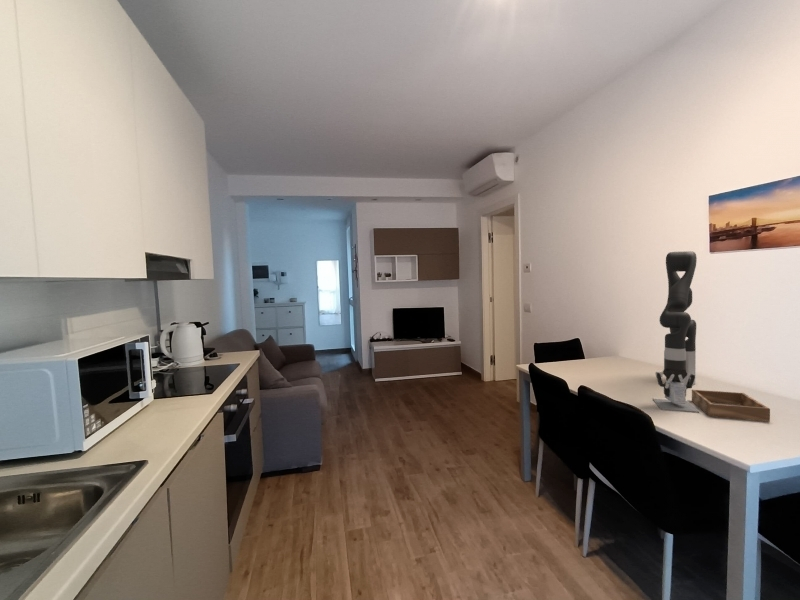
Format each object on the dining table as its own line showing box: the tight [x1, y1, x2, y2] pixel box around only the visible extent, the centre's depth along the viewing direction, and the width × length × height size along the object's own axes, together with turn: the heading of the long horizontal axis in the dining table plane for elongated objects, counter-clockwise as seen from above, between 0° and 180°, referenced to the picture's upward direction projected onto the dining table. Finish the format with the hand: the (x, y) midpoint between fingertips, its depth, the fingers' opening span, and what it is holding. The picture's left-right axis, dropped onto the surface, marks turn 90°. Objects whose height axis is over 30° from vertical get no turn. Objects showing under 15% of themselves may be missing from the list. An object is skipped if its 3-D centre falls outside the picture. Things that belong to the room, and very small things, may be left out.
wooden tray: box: [691, 389, 771, 423], centre depth 149 cm, size 20×18×5 cm
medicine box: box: [664, 381, 687, 404], centre depth 155 cm, size 8×4×9 cm, turn 168°
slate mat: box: [652, 398, 700, 414], centre depth 156 cm, size 13×13×1 cm
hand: (674, 396), depth 156 cm, fingers closed on medicine box, 5 cm apart
